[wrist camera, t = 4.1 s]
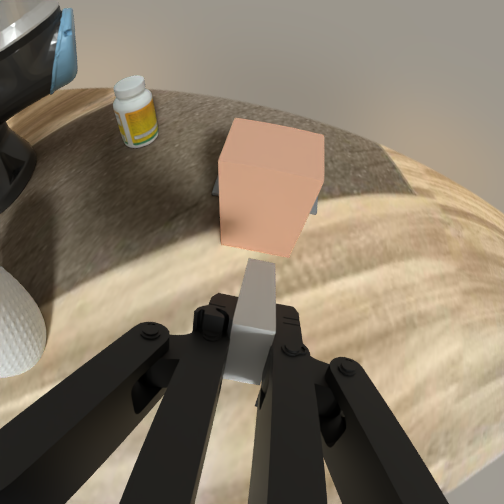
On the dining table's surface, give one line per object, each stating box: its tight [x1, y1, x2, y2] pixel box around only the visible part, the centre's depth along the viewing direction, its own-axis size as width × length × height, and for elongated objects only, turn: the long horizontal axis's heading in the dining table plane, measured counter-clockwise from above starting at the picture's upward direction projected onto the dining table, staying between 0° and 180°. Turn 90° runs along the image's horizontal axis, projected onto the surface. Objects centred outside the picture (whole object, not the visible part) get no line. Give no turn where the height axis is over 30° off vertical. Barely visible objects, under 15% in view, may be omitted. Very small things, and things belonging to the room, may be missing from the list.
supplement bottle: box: [113, 76, 158, 148], centre depth 30 cm, size 5×5×10 cm
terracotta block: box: [218, 118, 324, 258], centre depth 23 cm, size 5×7×12 cm
